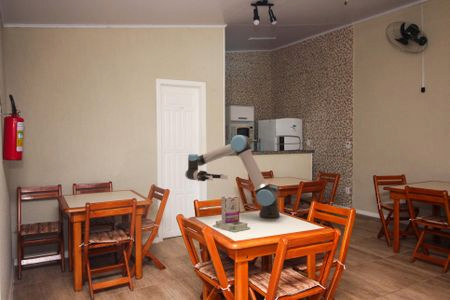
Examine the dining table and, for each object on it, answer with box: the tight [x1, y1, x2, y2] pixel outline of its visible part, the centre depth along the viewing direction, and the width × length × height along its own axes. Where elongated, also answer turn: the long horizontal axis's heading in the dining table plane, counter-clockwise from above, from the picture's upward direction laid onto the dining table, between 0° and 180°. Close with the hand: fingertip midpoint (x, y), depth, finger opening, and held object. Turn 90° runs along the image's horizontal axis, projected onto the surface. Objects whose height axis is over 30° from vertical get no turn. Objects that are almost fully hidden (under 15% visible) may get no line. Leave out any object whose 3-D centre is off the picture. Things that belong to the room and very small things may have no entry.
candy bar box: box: [221, 195, 240, 224], centre depth 224 cm, size 11×5×16 cm, turn 126°
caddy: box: [212, 219, 251, 233], centre depth 224 cm, size 14×20×4 cm
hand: (219, 178), depth 241 cm, fingers open, 13 cm apart
